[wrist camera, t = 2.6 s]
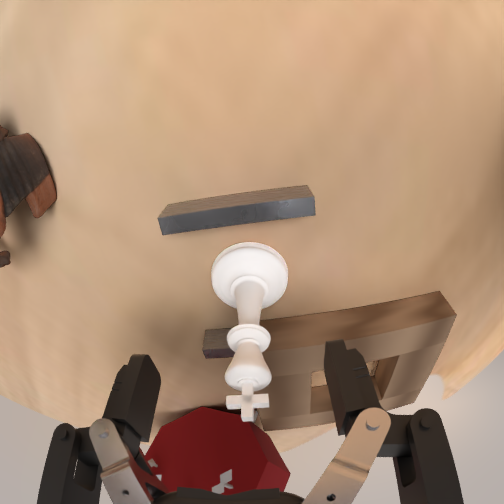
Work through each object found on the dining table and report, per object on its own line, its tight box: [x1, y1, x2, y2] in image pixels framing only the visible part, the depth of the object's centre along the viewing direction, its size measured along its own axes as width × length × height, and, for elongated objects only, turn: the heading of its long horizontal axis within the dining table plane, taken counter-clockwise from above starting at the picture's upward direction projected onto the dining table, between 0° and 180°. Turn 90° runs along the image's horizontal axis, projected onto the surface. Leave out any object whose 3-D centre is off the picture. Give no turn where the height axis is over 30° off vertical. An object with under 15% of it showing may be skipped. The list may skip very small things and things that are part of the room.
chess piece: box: [211, 242, 288, 422], centre depth 14 cm, size 5×5×10 cm
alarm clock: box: [145, 407, 290, 495], centre depth 19 cm, size 15×9×20 cm, turn 115°
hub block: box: [254, 291, 457, 431], centre depth 22 cm, size 16×13×3 cm
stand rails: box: [158, 185, 315, 358], centre depth 17 cm, size 8×11×2 cm
